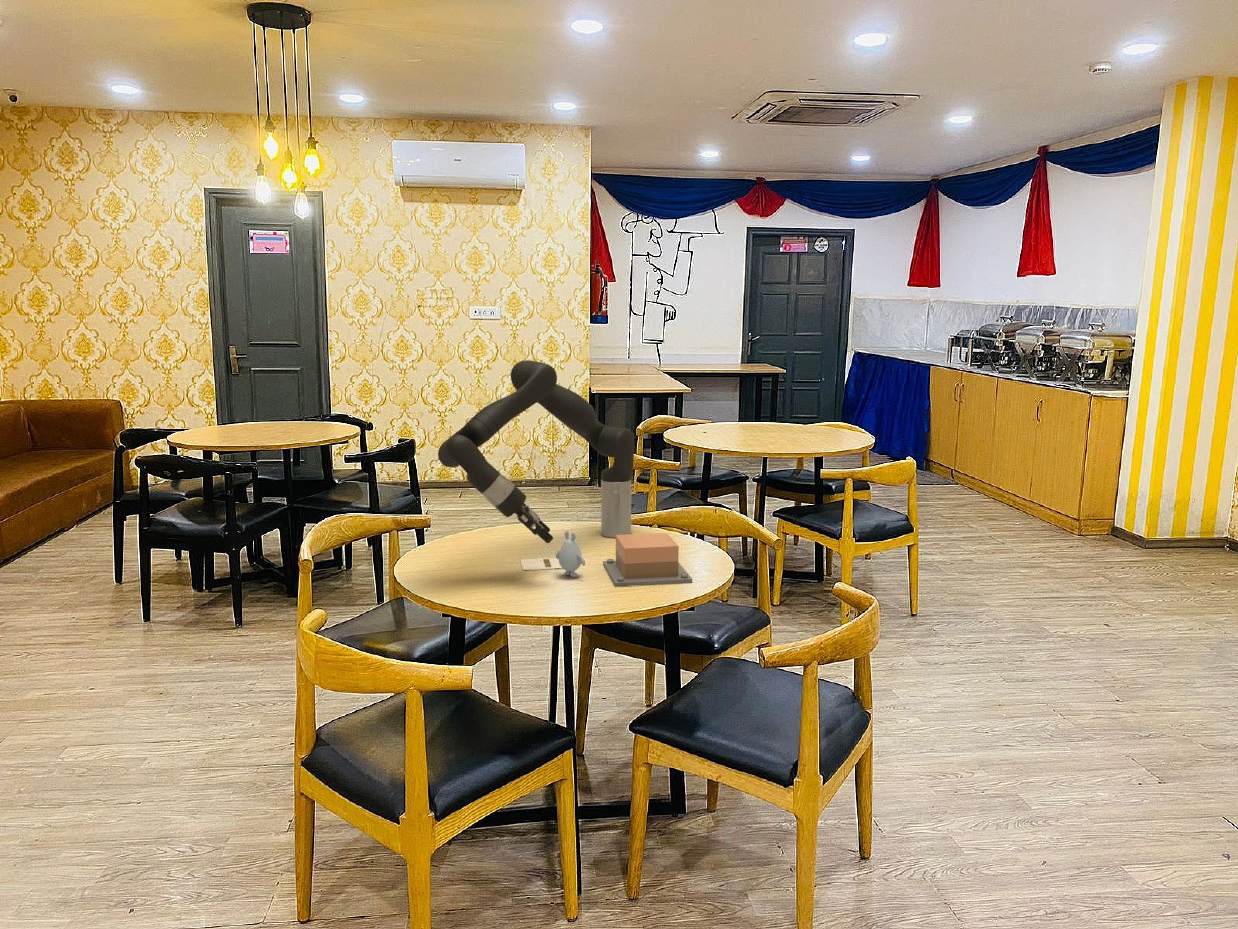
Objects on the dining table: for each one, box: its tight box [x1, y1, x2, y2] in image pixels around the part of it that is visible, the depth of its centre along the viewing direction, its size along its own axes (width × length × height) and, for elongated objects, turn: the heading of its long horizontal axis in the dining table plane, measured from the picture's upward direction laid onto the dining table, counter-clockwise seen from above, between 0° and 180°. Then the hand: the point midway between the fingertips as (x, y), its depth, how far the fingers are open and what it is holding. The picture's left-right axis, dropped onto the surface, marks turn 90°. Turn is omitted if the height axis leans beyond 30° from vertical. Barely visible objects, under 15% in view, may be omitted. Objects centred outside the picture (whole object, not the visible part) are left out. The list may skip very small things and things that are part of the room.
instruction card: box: [520, 557, 562, 572], centre depth 252 cm, size 10×14×1 cm
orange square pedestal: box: [602, 532, 693, 588], centre depth 242 cm, size 20×20×9 cm
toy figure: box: [555, 530, 586, 578], centre depth 240 cm, size 11×6×12 cm, turn 48°
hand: (549, 536), depth 238 cm, fingers open, 8 cm apart
